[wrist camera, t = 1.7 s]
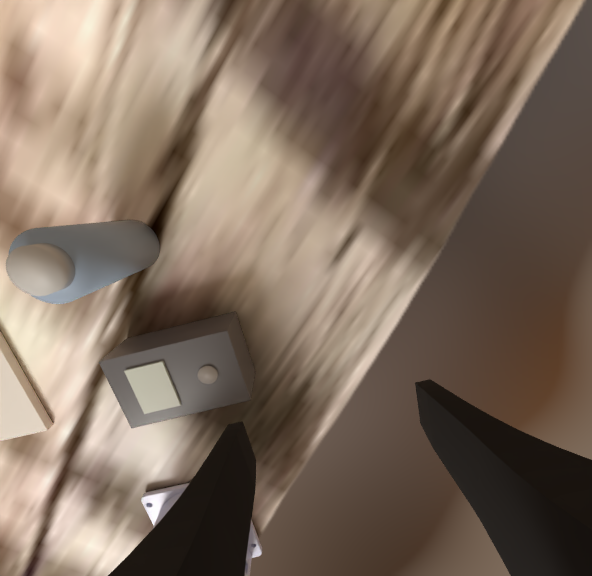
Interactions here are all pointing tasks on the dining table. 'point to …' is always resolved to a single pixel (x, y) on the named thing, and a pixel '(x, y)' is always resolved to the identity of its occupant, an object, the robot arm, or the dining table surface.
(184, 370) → the box
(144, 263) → the peg
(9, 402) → the batten
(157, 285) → the dining table surface
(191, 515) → the robot arm
